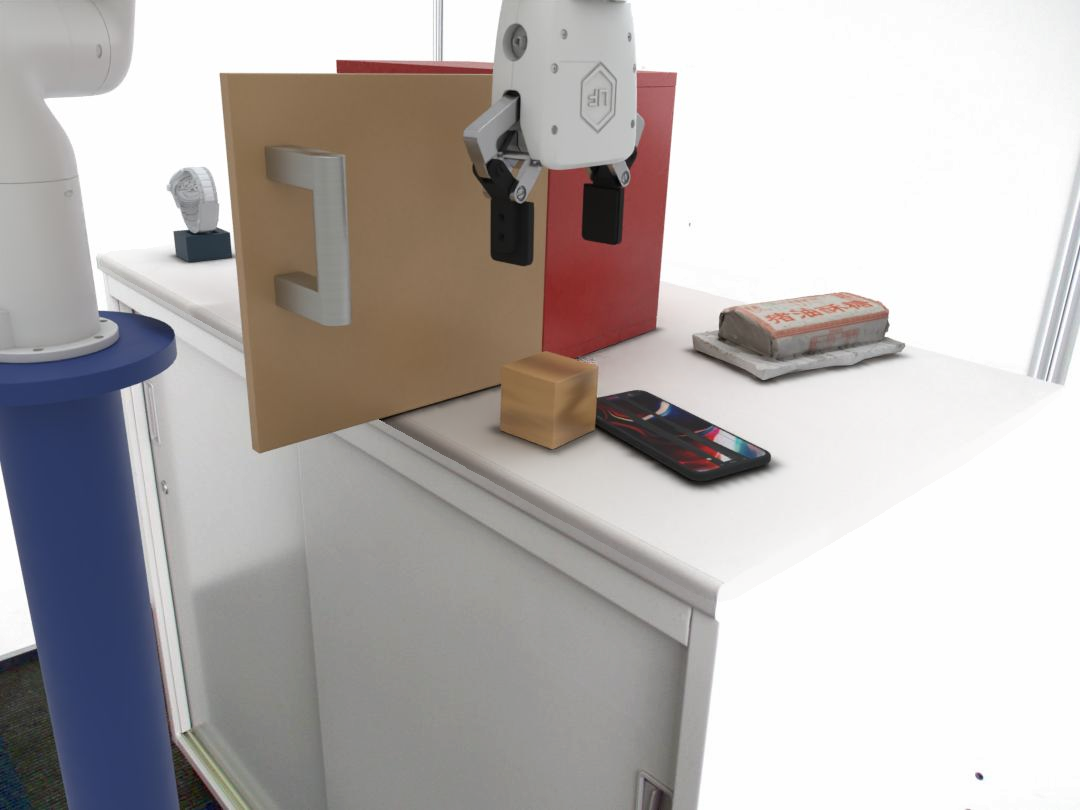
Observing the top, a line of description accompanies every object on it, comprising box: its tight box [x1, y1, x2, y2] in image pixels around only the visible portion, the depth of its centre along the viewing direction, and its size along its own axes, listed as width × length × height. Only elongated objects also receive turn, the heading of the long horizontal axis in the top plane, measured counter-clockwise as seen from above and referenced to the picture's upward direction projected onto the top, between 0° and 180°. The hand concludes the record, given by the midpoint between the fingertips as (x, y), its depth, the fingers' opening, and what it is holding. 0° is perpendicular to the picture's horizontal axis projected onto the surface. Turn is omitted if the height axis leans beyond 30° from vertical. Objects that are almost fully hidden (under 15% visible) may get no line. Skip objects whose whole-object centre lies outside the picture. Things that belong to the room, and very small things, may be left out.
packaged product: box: [691, 291, 906, 381], centre depth 87 cm, size 18×5×10 cm
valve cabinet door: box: [219, 72, 548, 454], centre depth 65 cm, size 8×26×24 cm, turn 134°
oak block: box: [499, 351, 600, 450], centre depth 67 cm, size 5×5×5 cm
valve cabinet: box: [335, 59, 678, 359], centre depth 90 cm, size 18×26×24 cm
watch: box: [166, 166, 233, 263], centre depth 115 cm, size 6×8×11 cm
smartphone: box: [595, 389, 772, 482], centre depth 67 cm, size 7×1×15 cm
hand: (558, 251), depth 63 cm, fingers open, 9 cm apart
